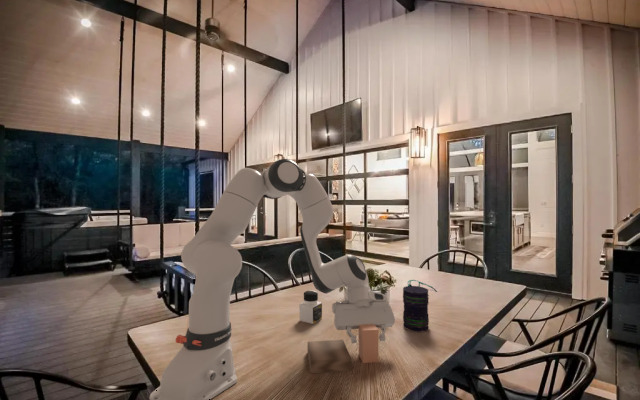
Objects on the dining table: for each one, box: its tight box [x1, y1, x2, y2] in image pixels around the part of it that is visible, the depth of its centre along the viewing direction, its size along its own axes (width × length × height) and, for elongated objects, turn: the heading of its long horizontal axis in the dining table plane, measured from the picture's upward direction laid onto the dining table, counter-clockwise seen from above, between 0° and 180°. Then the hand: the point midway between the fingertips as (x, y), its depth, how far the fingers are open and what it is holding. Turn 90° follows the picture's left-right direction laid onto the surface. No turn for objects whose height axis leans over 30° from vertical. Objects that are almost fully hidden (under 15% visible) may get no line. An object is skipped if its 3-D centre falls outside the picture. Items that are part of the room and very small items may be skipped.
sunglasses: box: [407, 279, 438, 297], centre depth 164 cm, size 14×15×5 cm
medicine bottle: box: [298, 289, 323, 325], centre depth 123 cm, size 7×7×12 cm
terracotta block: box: [358, 324, 379, 364], centre depth 92 cm, size 5×5×10 cm
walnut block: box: [307, 339, 352, 374], centre depth 91 cm, size 12×12×4 cm
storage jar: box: [402, 285, 430, 333], centre depth 116 cm, size 10×10×15 cm
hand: (368, 341), depth 92 cm, fingers open, 8 cm apart
